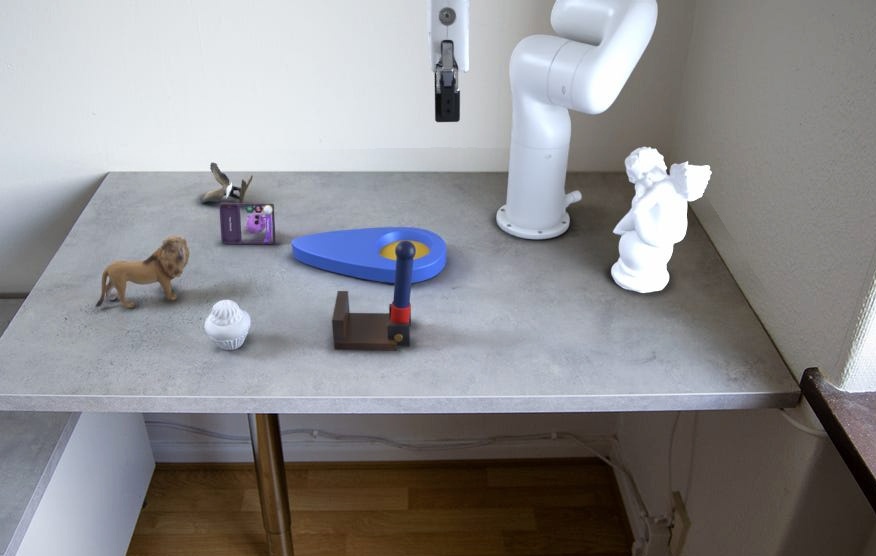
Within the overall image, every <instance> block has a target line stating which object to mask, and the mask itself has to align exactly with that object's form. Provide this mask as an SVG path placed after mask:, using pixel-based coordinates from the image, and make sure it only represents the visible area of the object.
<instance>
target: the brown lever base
mask: <svg viewBox="0 0 876 556" xmlns="http://www.w3.org/2000/svg"><path fill="white" fill-rule="evenodd" d="M349 296H350V295H349V291H348V290H337V292H336V297H335V302H334V307H333V311H332V312H333V313H332V317H331V325H332V326H331V327H332V338H333V348H334V350H343V351H345V350H346V351H352V350H353V351H397V347H411V346H410V345H411V329H410V328H411V327H412V316H411V315H412V306H411V307H410V318H409V323H390V320H391V306H392V303H389V304H388V313H387V312H386V313H385V312H350V297H349Z"/></svg>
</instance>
